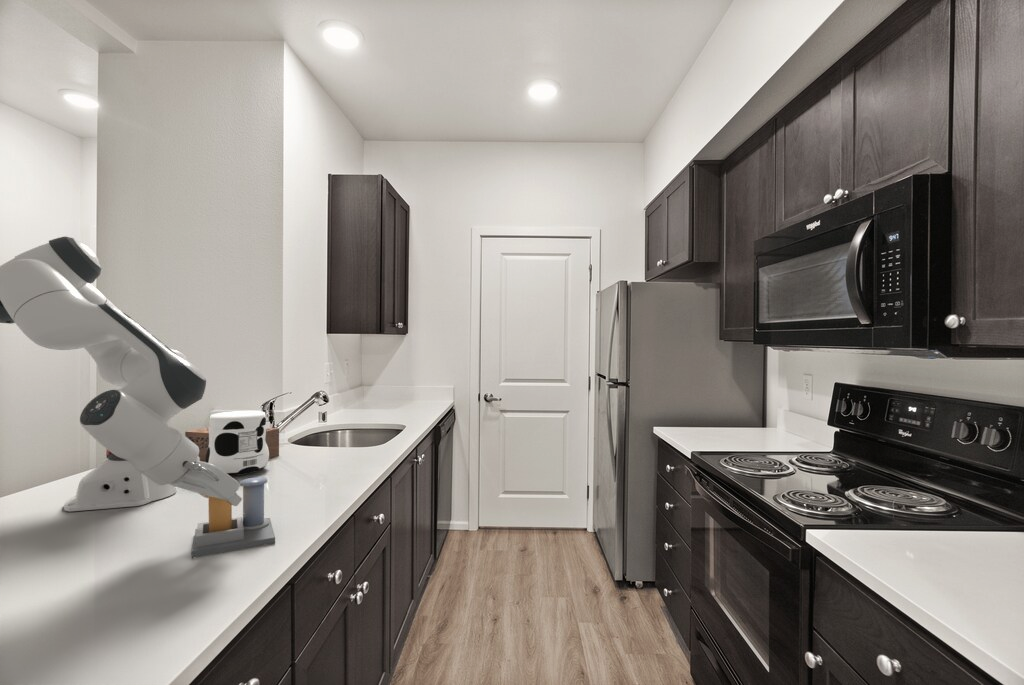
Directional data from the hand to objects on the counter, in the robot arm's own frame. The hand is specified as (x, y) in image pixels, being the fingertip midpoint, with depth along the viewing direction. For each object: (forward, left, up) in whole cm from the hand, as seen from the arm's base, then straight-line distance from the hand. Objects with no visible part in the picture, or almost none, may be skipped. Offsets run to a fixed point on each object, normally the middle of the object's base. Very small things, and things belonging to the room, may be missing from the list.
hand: (223, 498), depth 102 cm
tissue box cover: (+3, +83, -9) cm, 84 cm away
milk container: (+4, +60, -9) cm, 61 cm away
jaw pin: (-1, 0, -7) cm, 7 cm away
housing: (+2, 0, -9) cm, 9 cm away
